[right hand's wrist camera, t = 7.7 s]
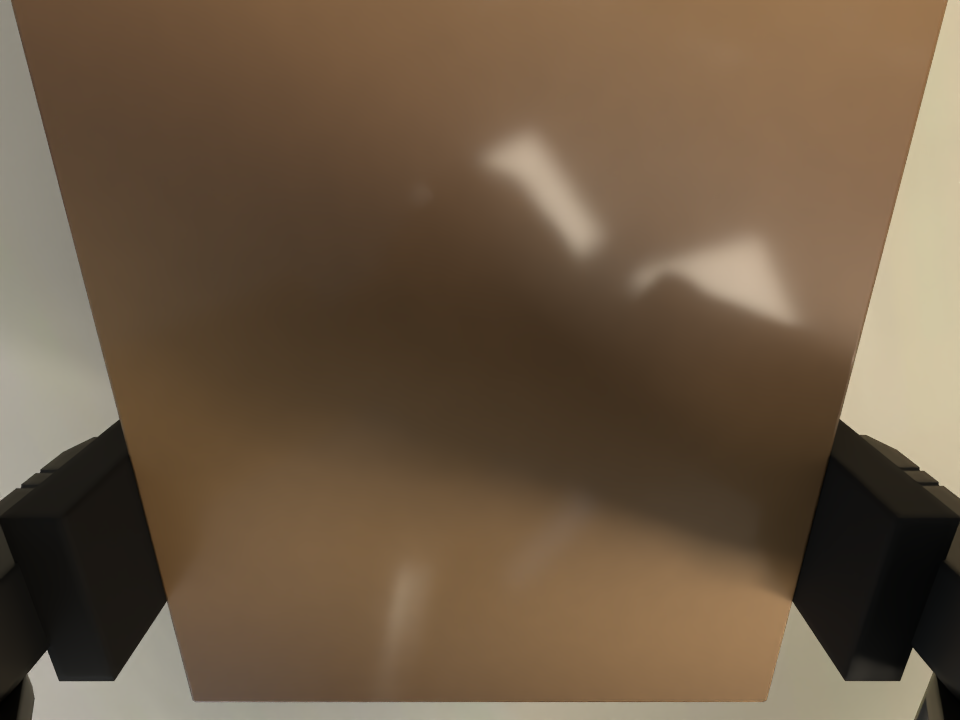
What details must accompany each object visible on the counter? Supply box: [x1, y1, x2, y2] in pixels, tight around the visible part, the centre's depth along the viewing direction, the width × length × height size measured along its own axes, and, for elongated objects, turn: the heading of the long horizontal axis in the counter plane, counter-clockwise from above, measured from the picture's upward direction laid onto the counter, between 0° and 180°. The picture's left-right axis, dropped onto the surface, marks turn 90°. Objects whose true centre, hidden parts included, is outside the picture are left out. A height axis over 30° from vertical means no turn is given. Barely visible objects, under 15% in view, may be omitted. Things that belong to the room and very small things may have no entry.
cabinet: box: [11, 0, 948, 702], centre depth 11 cm, size 18×10×8 cm, turn 0°
